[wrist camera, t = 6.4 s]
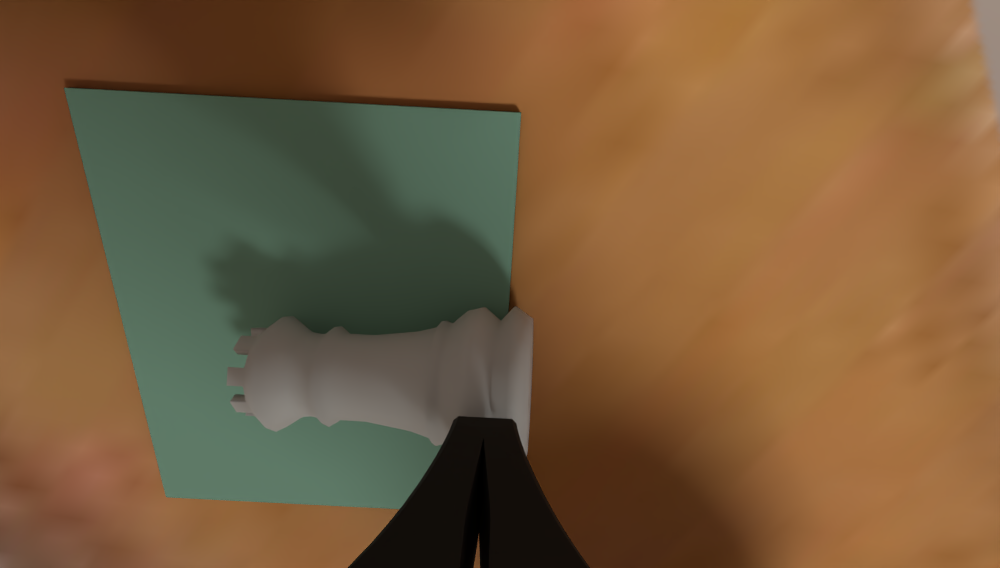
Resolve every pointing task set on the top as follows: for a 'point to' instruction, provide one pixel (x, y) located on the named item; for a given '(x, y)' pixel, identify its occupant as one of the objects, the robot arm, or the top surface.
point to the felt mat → (289, 264)
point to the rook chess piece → (390, 374)
